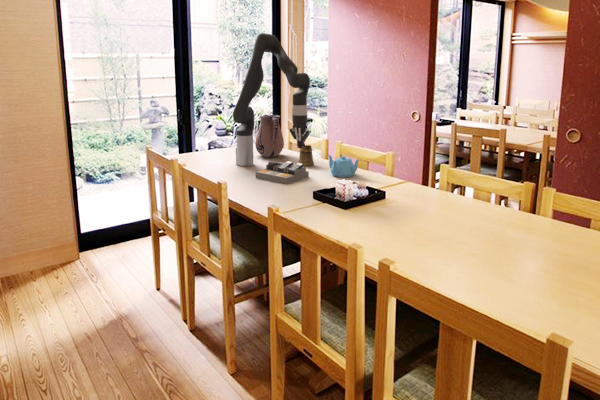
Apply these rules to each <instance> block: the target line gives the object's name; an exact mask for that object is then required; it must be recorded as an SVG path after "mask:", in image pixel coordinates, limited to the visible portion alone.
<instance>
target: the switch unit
mask: <svg viewBox="0 0 600 400" xmlns="http://www.w3.org/2000/svg"><path fill="white" fill-rule="evenodd" d="M275 163H279V162H275ZM283 164H284V163H281V164H280V165H276V166H273V165H268V163H267V164H266V165H265V167H266V168H265V169H261V170H258V171H255V178H256V179H260V180H264V181H269V182H274V183H275V182H276V183H279V184H285V185H289V184H291V183H292V184H293V183H295V182H298V181H301V180H304V179H308V178H309V176H310V175H309V173H310V171H308V170H307V167H305V166H304V167H303V168H300V169H297V170H295V173H290V172H289V169H290V168H291V167H293V166H294V165H295V164H293V165H292V166H290V167H286V168H284V171H280V170H279V169H278V167H280V166H281V165H283Z"/></svg>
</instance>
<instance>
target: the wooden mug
mask: <svg viewBox="0 0 600 400" xmlns="http://www.w3.org/2000/svg"><path fill="white" fill-rule="evenodd" d="M305 142H306V140H303V147H302V148H299V158H298V162H297V163H301V164H304V167H306V168H309V167H313V166H314V165H315V162H314V158H313V147H312V145H310V144H308V145H307V144H306V143H305Z"/></svg>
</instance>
